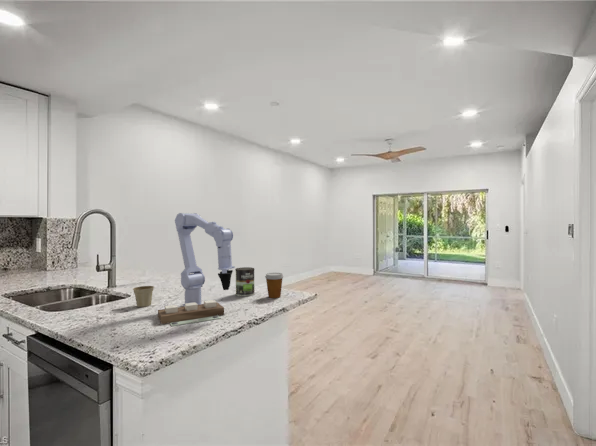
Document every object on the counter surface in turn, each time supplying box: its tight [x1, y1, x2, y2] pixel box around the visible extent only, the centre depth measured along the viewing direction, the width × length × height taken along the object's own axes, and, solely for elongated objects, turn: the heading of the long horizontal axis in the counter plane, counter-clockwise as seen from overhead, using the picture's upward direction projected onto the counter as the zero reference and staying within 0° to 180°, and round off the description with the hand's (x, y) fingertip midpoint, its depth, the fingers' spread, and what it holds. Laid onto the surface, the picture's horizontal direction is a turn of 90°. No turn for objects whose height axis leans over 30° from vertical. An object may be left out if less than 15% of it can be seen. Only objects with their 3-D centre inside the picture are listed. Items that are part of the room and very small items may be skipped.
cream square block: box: [164, 304, 178, 314], centre depth 136 cm, size 4×4×3 cm
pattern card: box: [169, 315, 221, 327], centre depth 133 cm, size 4×19×1 cm, turn 119°
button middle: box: [184, 302, 198, 311], centre depth 140 cm, size 4×4×3 cm
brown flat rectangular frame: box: [157, 302, 225, 325], centre depth 140 cm, size 11×25×3 cm, turn 119°
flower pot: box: [132, 285, 155, 308], centre depth 158 cm, size 9×9×9 cm
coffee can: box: [234, 266, 255, 297], centre depth 180 cm, size 10×10×14 cm
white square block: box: [203, 299, 218, 308], centre depth 144 cm, size 4×4×3 cm
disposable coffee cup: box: [264, 272, 284, 299], centre depth 173 cm, size 10×10×12 cm
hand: (226, 288), depth 142 cm, fingers open, 7 cm apart
